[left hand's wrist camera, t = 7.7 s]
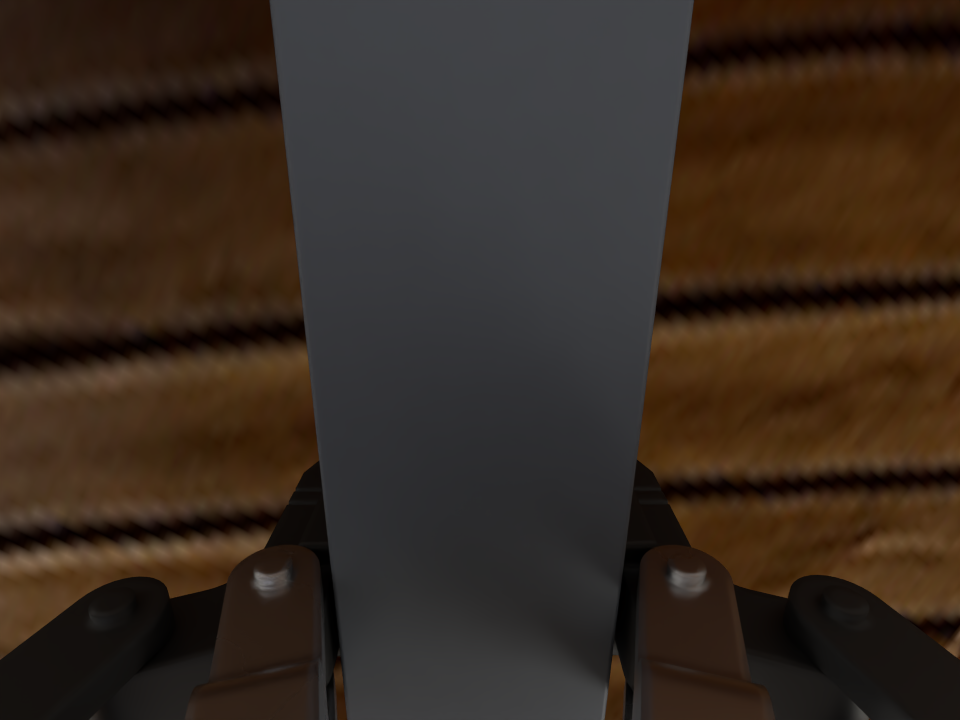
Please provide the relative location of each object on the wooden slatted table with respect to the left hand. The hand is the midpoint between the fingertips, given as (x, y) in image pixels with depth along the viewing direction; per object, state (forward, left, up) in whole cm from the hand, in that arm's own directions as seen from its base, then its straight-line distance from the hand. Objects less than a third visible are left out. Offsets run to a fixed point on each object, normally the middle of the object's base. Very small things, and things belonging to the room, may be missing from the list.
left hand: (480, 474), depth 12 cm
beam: (+23, 0, -2) cm, 23 cm away
